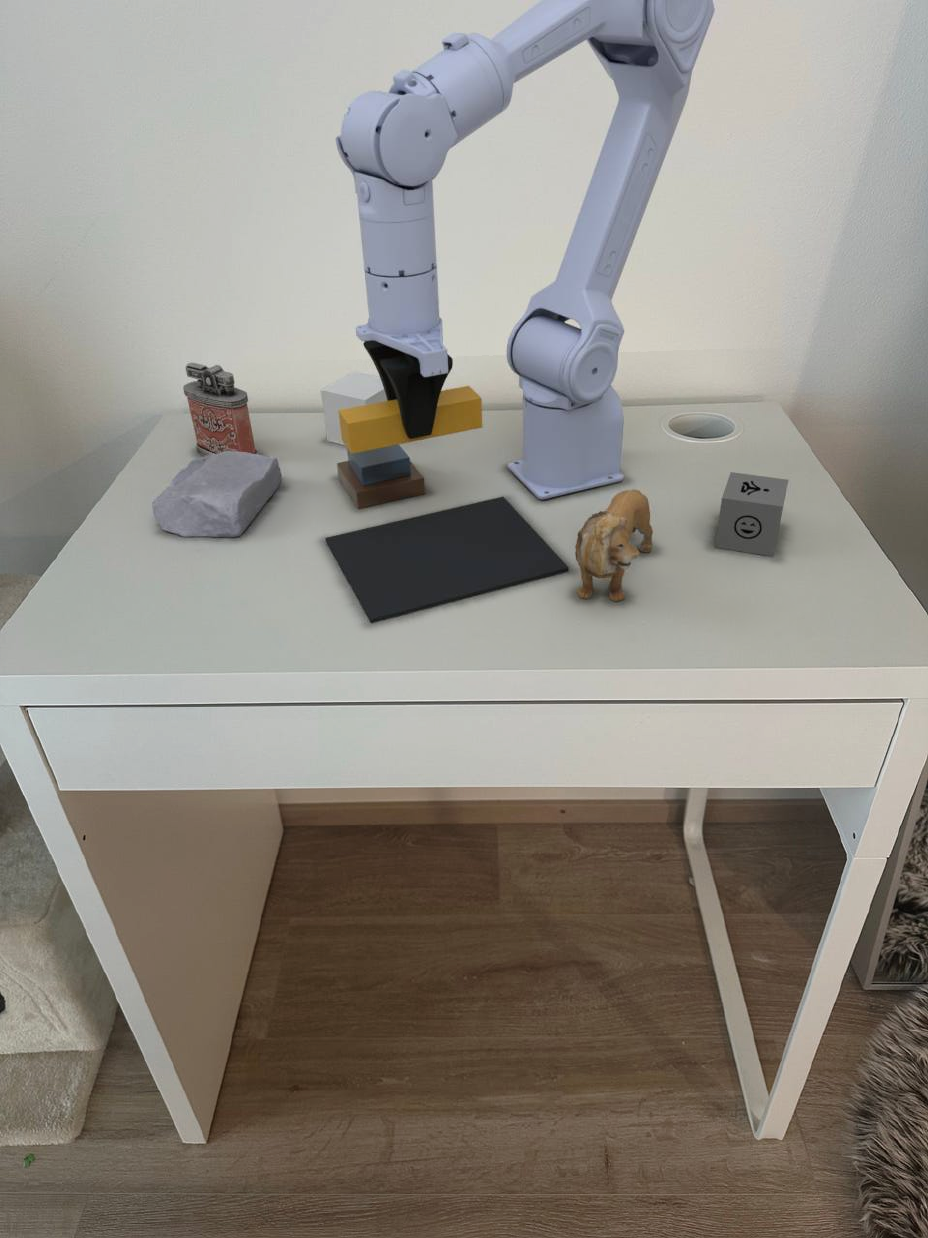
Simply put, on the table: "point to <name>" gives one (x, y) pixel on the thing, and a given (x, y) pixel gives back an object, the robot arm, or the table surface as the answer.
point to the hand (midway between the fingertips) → (412, 427)
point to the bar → (386, 428)
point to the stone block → (217, 494)
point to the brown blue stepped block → (380, 476)
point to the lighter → (218, 411)
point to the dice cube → (751, 513)
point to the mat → (442, 558)
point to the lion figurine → (613, 542)
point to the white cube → (349, 399)
